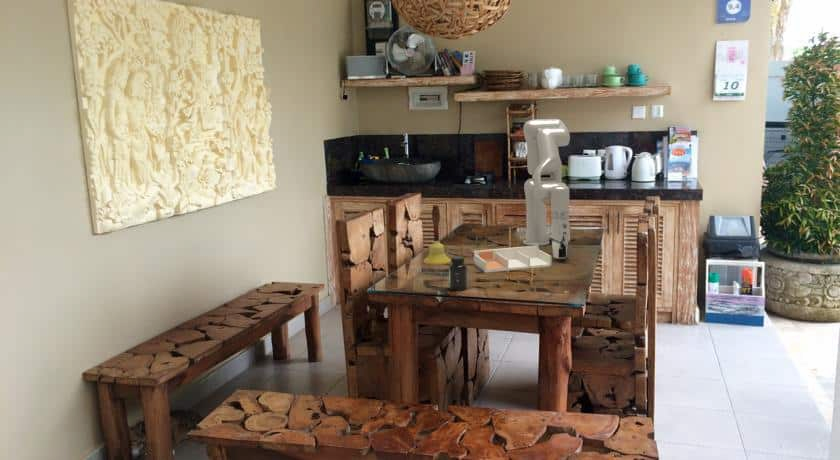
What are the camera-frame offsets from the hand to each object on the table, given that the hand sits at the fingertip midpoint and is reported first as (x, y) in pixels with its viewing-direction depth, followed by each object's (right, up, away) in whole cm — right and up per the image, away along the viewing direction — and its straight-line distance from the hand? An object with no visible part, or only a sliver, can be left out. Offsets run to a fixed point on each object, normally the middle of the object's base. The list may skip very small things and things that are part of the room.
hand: (559, 255), depth 308 cm
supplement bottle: (-46, -11, -38) cm, 60 cm away
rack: (-21, -4, -5) cm, 22 cm away
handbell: (-53, -3, +7) cm, 53 cm away
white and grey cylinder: (0, -1, 0) cm, 1 cm away
